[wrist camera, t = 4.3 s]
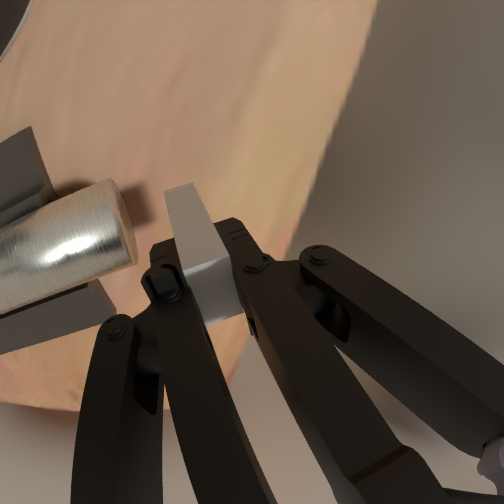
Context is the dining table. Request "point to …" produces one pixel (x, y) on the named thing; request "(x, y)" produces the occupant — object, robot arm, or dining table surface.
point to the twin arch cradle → (57, 305)
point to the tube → (65, 245)
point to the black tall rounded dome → (12, 22)
